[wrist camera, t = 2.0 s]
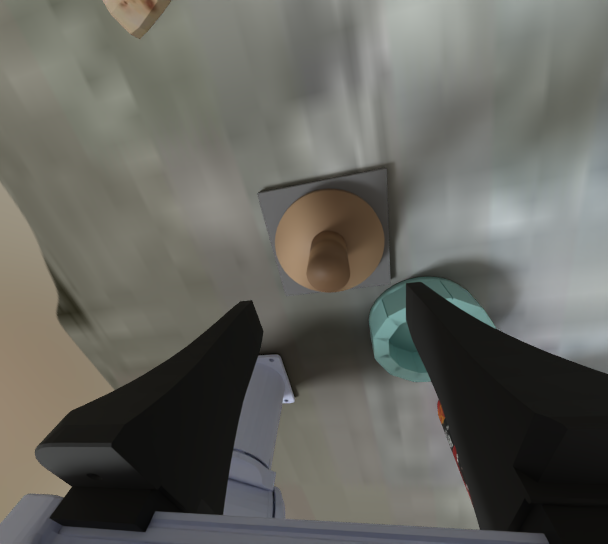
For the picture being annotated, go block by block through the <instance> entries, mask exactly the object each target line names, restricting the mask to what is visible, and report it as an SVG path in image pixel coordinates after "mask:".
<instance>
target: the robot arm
mask: <svg viewBox="0 0 608 544" xmlns="http://www.w3.org/2000/svg"><path fill="white" fill-rule="evenodd" d="M406 322H407V325H408V328H409V332H410V335H411V338H412V340H413V343H414V345H415V347H416V349H417V351H418V354H419V356H420V358H421V360H422V362H423V364H424V367H425V369H426V371H427V373H428V375H429V377H430V380H431V382H432V384H433V386H434V388H435V391H436V393H437V396H438V398H439V401H440V404H441V407H442V410H443V413H444V416H445V418H446V421H447V424H448V427H449V430H450V433H451V436H452V439H453V442H454V445H455V448H456V452H457V455H458V458H459V461H460V464H461V467H462V471H463V474H464V477H465V480H466V483H467V487H468V490H469V493H470V497H471V500H472V504H473V507H474V510H475V514H476V517H477V520H478V524H479V527H480V530H473V529H455V528H438V527H420V526H403V525H385V524H368V523H350V522H333V521H315V520H298V519H285V504H284V501H283V498H282V494H281V491H280V489H279V488H278V487H275V486H274V482H275V476H276V472H274V471H271V465H272V459H273V454H274V448H275V442H276V437H277V431H278V426H279V420H280V414H281V409H282V403H293V402H294V401H295V397H294V394H293V391H292V388H291V385H290V382H289V379H288V376H287V374H286V371H285V368H284V365H283V362H282V359H281V357H280V356H279V355H277V354H274V355H259V352H260V348H261V343H262V337H263V329H262V326H261V324H260V321H259V318H258V315H257V313H256V310H255V307H254V304H253V302H252V300H250V301H241V302H239V303H238V304H237V305H235V306H234V307H233V308H232V309H231V310H230V311H228V312H227V313H226V314H225V315H224V316H223V317H222V318H220V319H219V320H218V321H217V322H216V323H215V324H214V325H212V326H211V327H210V328H209V329H208V330H207V331H205V332H204V333H203V334H202V335H200V336H199V337H198V338H197V339H196V340H194V341H193V342H192V343H191V344H189V345H188V346H187V347H185V348H184V349H183V350H181V351H180V352H178V353H177V354H175V355H174V356H173V357H171V358H170V359H168V360H167V361H165V362H164V363H162V364H160V365H159V366H157V367H155V368H154V369H152V370H151V371H149V372H147V373H146V374H144V375H142V376H141V377H139V378H137V379H135V380H133V381H132V382H130V383H128V384H126V385H124V386H122V387H120V388H118V389H117V390H115V391H113V392H111V393H109V394H107V395H105V396H102V397H100V398H98V399H96V400H94V401H92V402H90V403H87V404H85V405H84V406H81V407H79V408H76V409H74V410H72V411H71V412H69V413H68V414H67V415H66V416H65V417H64V418H63V420H62V421H61V422H60V423H59V424H58V425H57V426H56V427H55V428H54V429H53V430H52V431H51V433H49V434H48V435H47V437H46V438H45V439H44V440H43V441H42V442H41V443H40V444H39V445H38V446H37V448H36V449H35V456H36V459H37V460H38V462H40V464H41V465H42V466H44V467H45V468H46V469H47V470H49V471H51V472H52V473H53V474H55V475H56V476H58V477H59V478H60V479H62V480H63V481H65V482H66V483H68V484H69V485H71V486H72V488H71V489H70V490H69V492H68V493H67V495H66V496H65V497H64V498H63V497H60V496H57V495H48V494H27V495H24V496H23V498H22V499H21V500H20V501H19V502H18V503H17V505H16V506H15V507H14V508H13V509H12V511H11V512H10V513H9V514H8V515H7V516H6V518H5V519H4V520H3V521H2V522H1V523H0V544H608V374H606V373H603V372H600V371H597V370H594V369H591V368H588V367H586V366H583V365H580V364H577V363H574V362H572V361H569V360H566V359H564V358H561V357H558V356H556V355H553V354H551V353H548V352H546V351H543V350H541V349H539V348H536V347H534V346H532V345H529V344H527V343H524V342H522V341H520V340H518V339H516V338H513V337H511V336H509V335H507V334H505V333H503V332H501V331H499V330H497V329H495V328H493V327H491V326H489V325H488V324H486V323H484V322H482V321H480V320H479V319H477V318H475V317H473V316H472V315H470V314H468V313H467V312H465V311H463V310H462V309H460V308H459V307H457V306H455V305H454V304H452V303H451V302H449V301H448V300H446V299H445V298H443V297H442V296H441V295H439V294H438V293H436V292H435V291H433V290H432V289H431V288H429V287H428V286H426V285H425V284H424V283H422V282H412V283H406ZM258 355H259V356H258Z"/></svg>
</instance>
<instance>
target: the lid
mask: <svg viewBox="0 0 608 544" xmlns="http://www.w3.org/2000/svg"><path fill="white" fill-rule="evenodd" d="M384 240H385V239H384V232H383V228H382V225H381V222H380V220H379V218H378V217H377V215H376V213H375V212H374V210H373V209H372V208H371V206H370V205H369V204H368V203H367V202H366V201H365V200H363V199H362V198H360V197H359V196H357V195H356V194H353V193H351V192H349V191H345V190H341V189H331V188H327V189H319V190H316V191H312V192H310V193H307V194H305V195H303V196H302V197H300V198H298V199H297V200H296V201H295V202H293V203H292V204H291V206H290V207H289V208H288V209H287V210H286V212H285V213H284V215H283V217H282V218H281V220H280V222H279V225H278V227H277V231H276V235H275V249H276V254H277V257H278V260H279V262H280V264H281V266H282V268H283V269H284V271H285V272H286V273H287V274H288V276H289V277H291V278H292V279H293V280H294V281H295V282H297V283H298V284H300V285H302V286H304V287H306V288H308V289H311V290H315V291H319V292H339V291H344V290H347V289H350V288H352V287H355V286H357V285H358V284H360V283H362V282H363V281H364V280H366V279H367V278H368V277H369V276H370V275H371V274H372V273H373V272H374V271H375V269H376V268H377V266H378V264H379V262H380V260H381V258H382V255H383V251H384Z"/></svg>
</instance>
